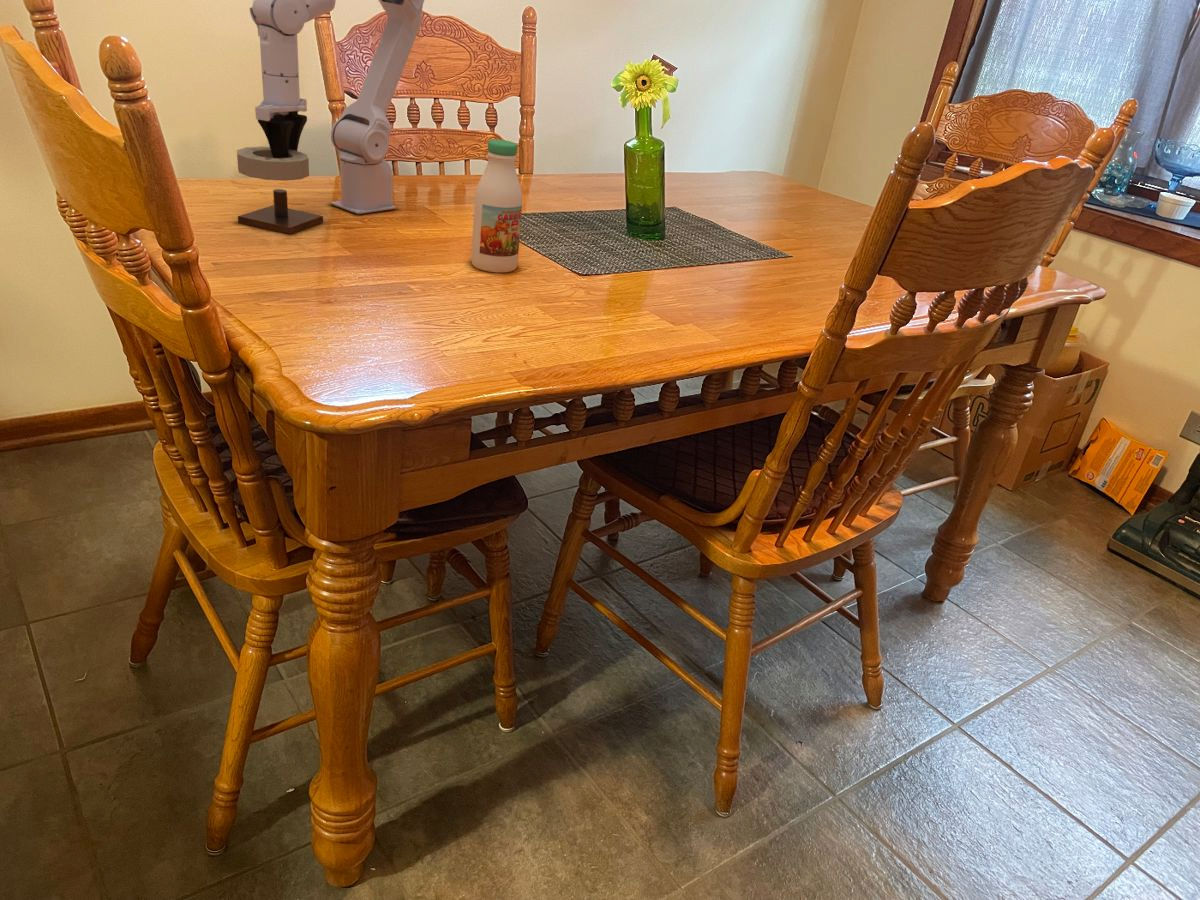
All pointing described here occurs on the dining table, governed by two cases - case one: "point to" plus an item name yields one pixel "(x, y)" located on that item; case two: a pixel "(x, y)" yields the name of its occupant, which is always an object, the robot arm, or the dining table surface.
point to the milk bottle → (497, 211)
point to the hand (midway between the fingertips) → (284, 159)
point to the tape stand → (280, 216)
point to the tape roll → (272, 164)
